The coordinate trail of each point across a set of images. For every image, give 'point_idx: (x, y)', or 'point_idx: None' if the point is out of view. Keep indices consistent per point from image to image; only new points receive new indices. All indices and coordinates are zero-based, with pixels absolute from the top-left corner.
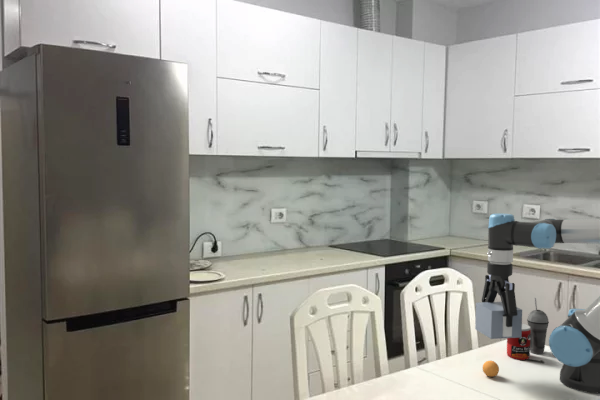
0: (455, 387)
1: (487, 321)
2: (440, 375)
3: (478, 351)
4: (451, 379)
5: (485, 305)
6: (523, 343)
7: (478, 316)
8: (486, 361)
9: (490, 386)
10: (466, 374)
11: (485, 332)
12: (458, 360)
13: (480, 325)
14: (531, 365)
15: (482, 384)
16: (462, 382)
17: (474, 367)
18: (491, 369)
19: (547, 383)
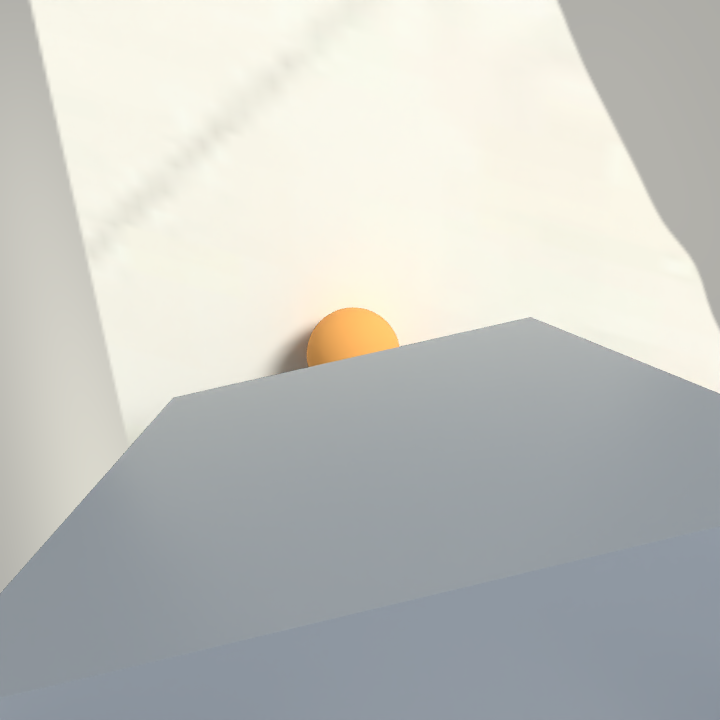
0: (155, 85)
1: (227, 460)
2: (343, 31)
3: (714, 377)
4: (282, 92)
5: (558, 669)
6: None
7: (541, 386)
8: (370, 341)
9: (205, 304)
10: (370, 213)
11: (296, 380)
12: (589, 223)
13: (433, 366)
14: None
15: (228, 267)
16: (242, 153)
17: (478, 290)
18: (308, 349)
19: None
